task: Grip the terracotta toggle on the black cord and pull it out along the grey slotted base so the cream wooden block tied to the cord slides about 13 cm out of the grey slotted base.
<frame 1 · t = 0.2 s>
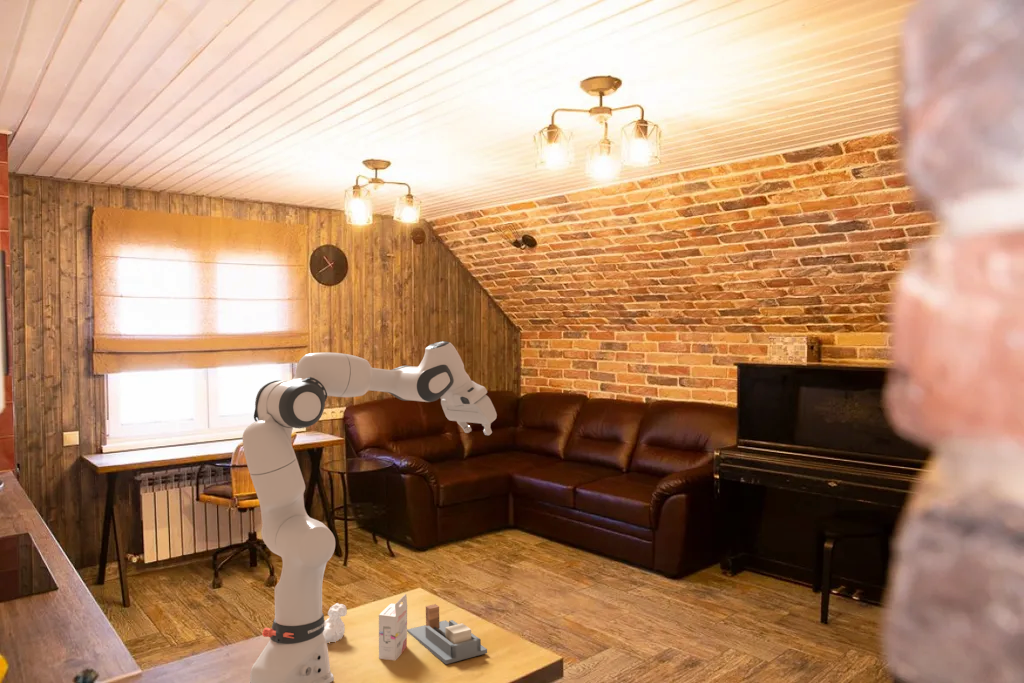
hand: (478, 433, 216), 54 cm above the table, tool tilted 30°, fingers open, 8 cm apart
grey slotted base: (445, 642, 200), on the table
ink cartridge box: (392, 654, 194), on the table
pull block: (446, 627, 200), point 4 cm above the table, slide at 0.0 cm
bust: (332, 641, 203), on the table
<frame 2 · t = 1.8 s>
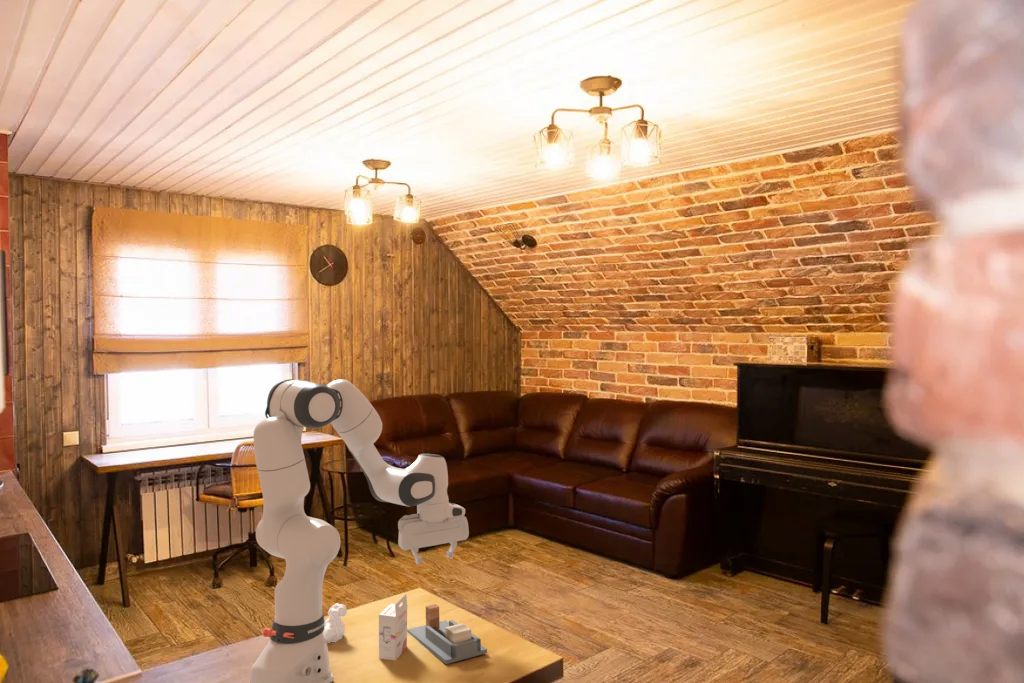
hand: (434, 560, 207), 20 cm above the table, tool pointing down, fingers open, 8 cm apart
nothing on the table moved.
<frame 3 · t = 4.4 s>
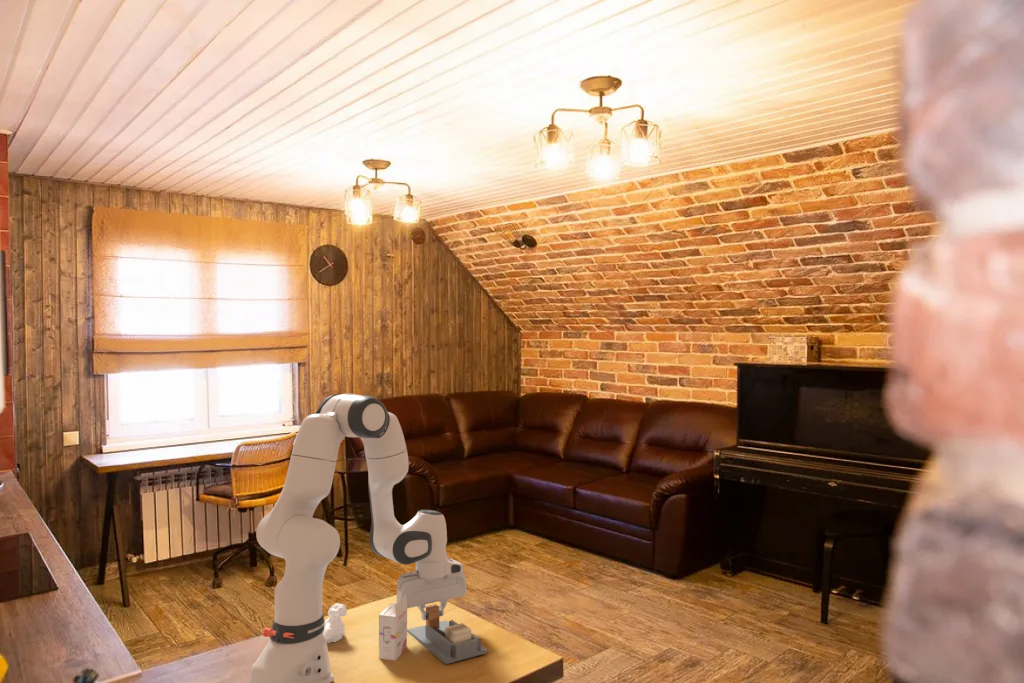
hand: (432, 617, 207), 4 cm above the table, tool pointing down, fingers closed on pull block, 3 cm apart
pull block: (446, 627, 200), point 4 cm above the table, slide at 0.0 cm, touching gripper
everything else where it was.
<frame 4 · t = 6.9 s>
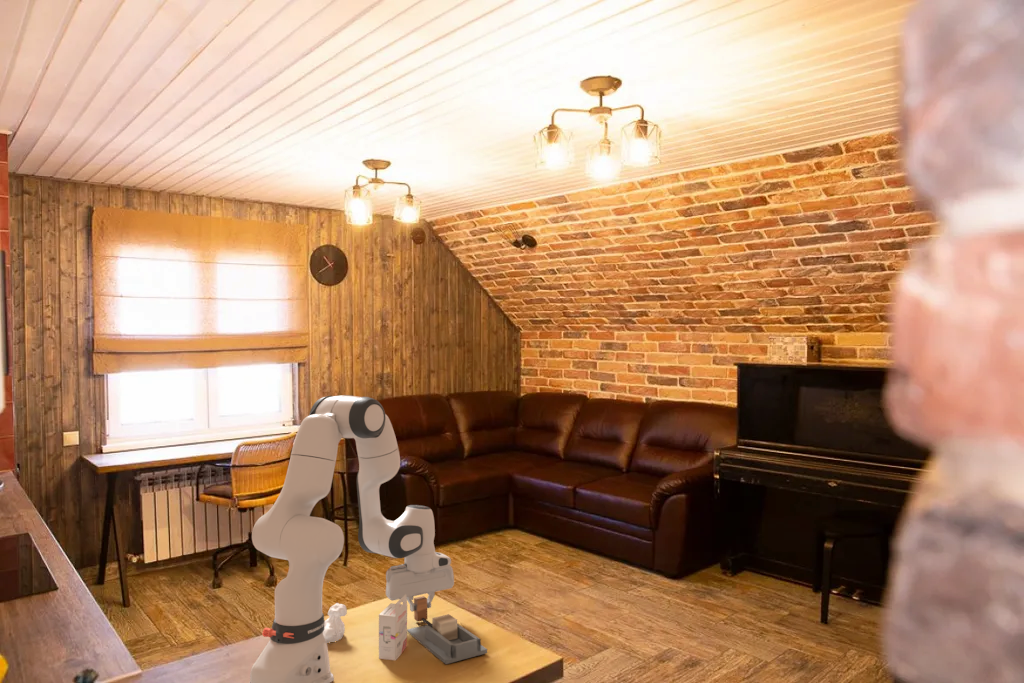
hand: (420, 609, 214), 4 cm above the table, tool pointing down, fingers closed on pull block, 3 cm apart
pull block: (433, 617, 207), point 4 cm above the table, slide at 7.9 cm, touching gripper
everything else where it was.
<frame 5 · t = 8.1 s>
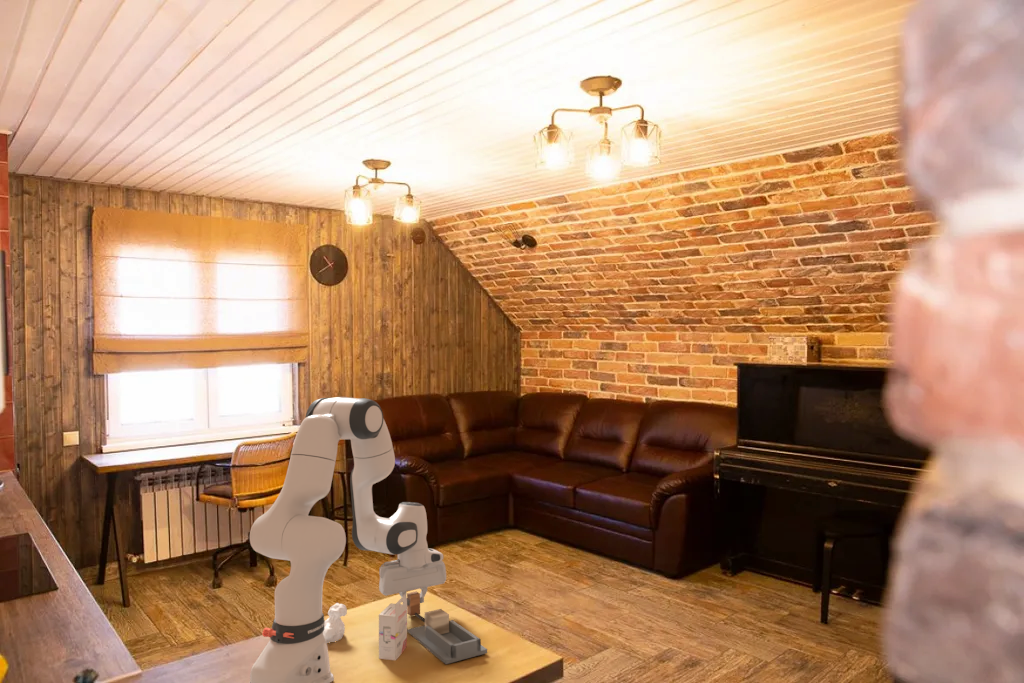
hand: (413, 604, 218), 4 cm above the table, tool pointing down, fingers closed on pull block, 3 cm apart
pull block: (425, 612, 211), point 4 cm above the table, slide at 12.8 cm, touching gripper
everything else where it was.
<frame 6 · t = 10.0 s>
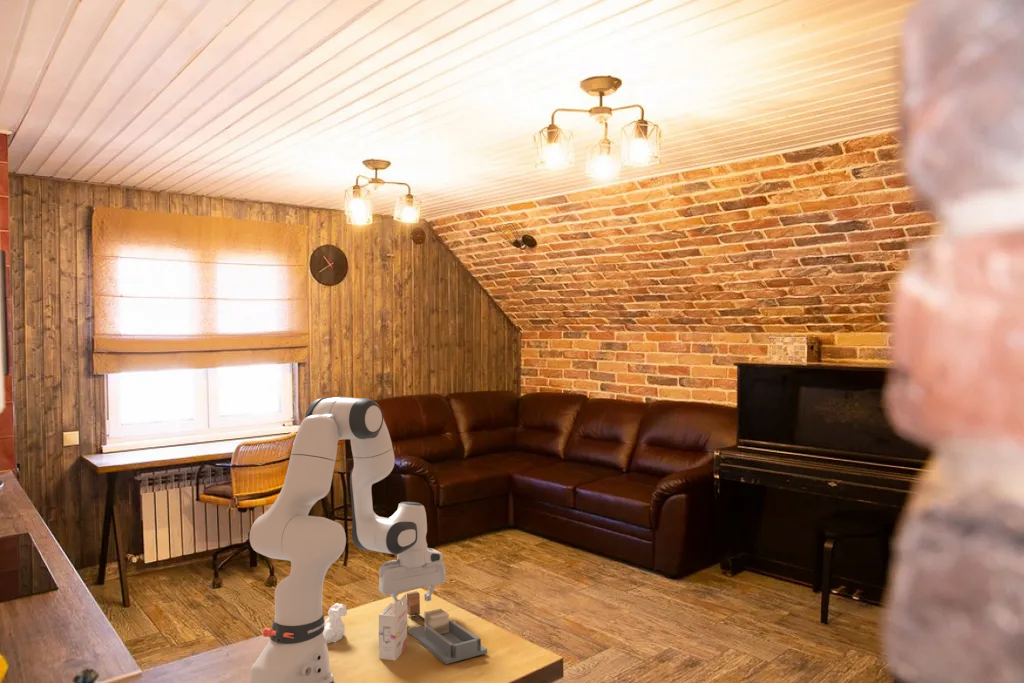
hand: (413, 603, 218), 4 cm above the table, tool pointing down, fingers open, 8 cm apart
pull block: (425, 612, 211), point 4 cm above the table, slide at 13.0 cm
everything else where it was.
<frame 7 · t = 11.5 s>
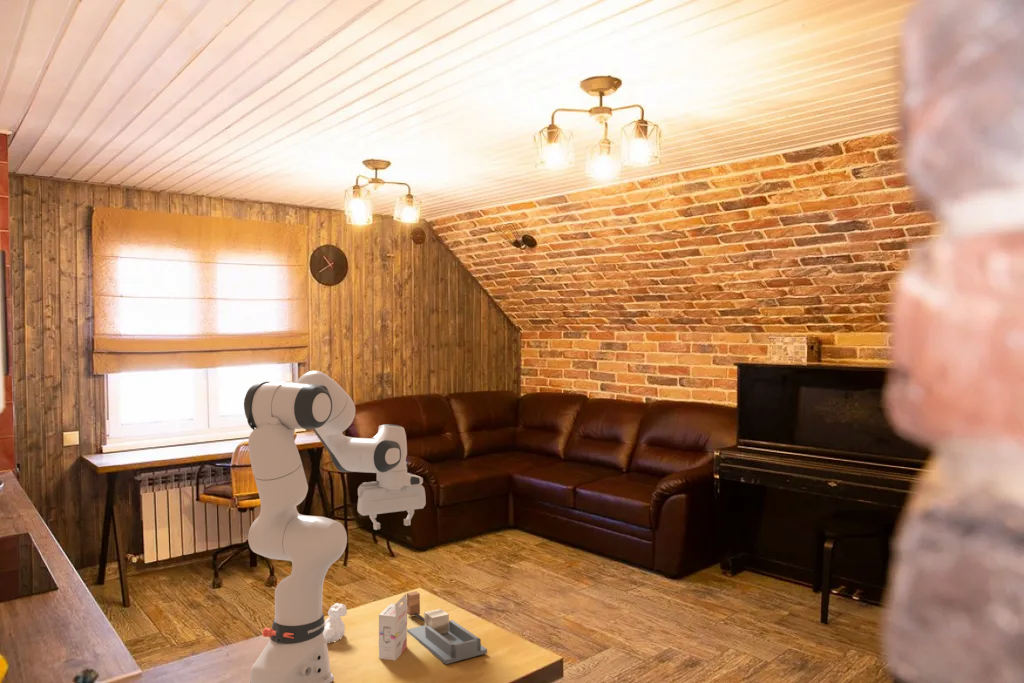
hand: (392, 527, 216), 27 cm above the table, tool pointing down, fingers open, 8 cm apart
nothing on the table moved.
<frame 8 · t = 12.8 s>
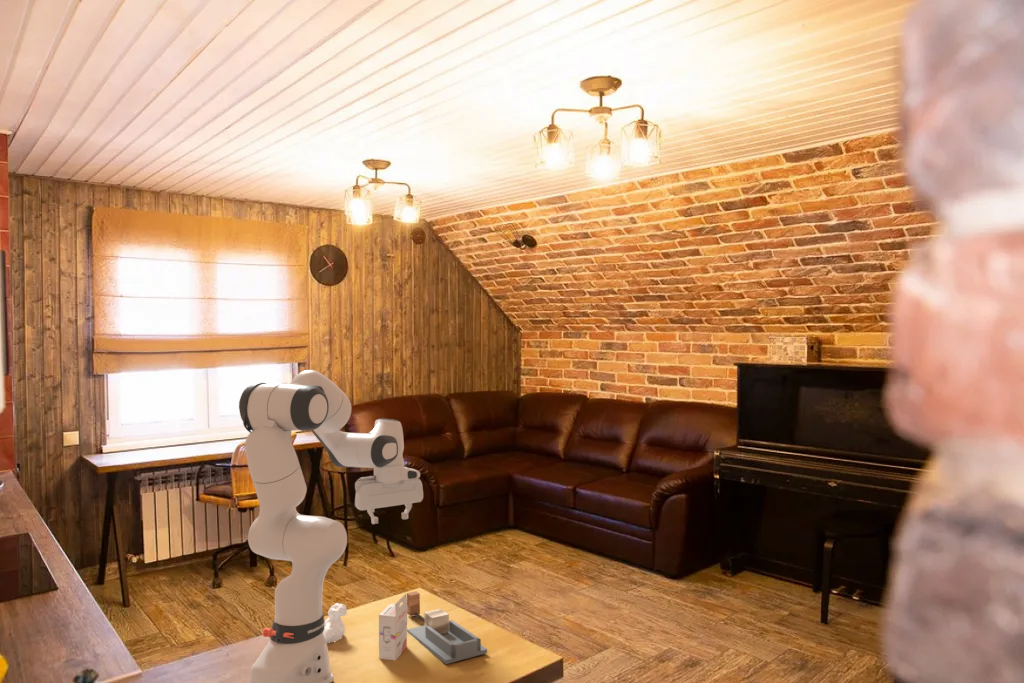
hand: (390, 521, 216), 29 cm above the table, tool pointing down, fingers open, 8 cm apart
nothing on the table moved.
at the end: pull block slide at 13.0 cm; the gripper is holding nothing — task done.
